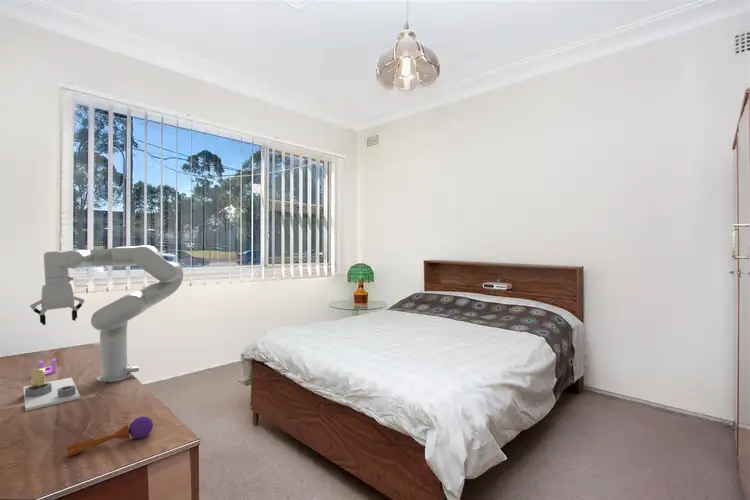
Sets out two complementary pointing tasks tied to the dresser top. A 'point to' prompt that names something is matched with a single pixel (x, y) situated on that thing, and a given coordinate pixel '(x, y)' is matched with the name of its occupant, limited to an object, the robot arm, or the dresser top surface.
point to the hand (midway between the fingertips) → (59, 322)
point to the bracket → (49, 367)
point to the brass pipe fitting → (37, 378)
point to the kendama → (115, 435)
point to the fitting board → (50, 394)
